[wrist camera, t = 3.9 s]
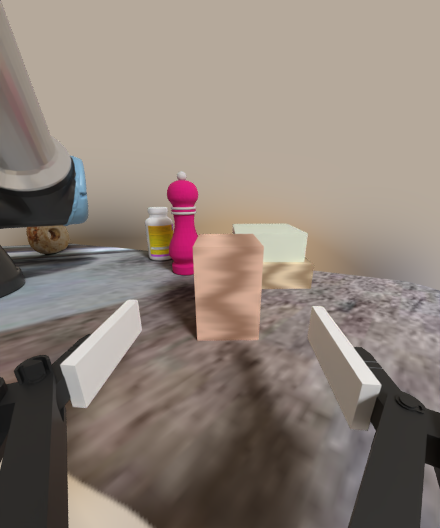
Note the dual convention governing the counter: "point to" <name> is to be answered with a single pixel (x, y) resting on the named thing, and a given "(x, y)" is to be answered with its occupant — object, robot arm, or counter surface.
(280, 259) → the sage top block
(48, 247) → the stone disc
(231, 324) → the clay pillar block
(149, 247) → the supplement bottle
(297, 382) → the counter surface
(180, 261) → the pepper mill
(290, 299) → the counter surface
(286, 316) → the counter surface
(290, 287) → the oak base block
